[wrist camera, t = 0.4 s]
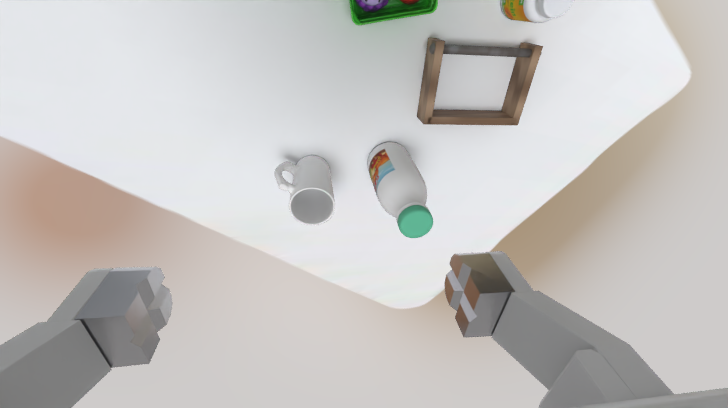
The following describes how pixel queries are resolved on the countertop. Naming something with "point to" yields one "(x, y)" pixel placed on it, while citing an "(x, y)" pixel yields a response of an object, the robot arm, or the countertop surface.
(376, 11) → the fruit basket
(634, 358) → the robot arm
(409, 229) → the milk bottle
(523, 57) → the wooden bar rack
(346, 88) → the countertop surface
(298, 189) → the mug
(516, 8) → the supplement bottle
